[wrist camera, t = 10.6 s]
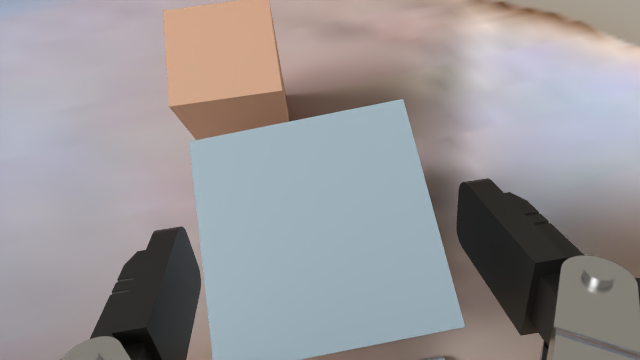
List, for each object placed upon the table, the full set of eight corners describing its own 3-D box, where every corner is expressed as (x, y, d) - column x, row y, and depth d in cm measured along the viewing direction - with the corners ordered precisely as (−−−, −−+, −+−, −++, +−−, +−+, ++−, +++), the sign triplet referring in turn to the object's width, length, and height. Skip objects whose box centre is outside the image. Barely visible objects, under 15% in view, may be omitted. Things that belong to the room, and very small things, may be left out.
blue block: (291, 323, 18) (214, 376, 7) (275, 223, 19) (188, 141, 8) (391, 303, 18) (465, 327, 7) (368, 205, 19) (403, 98, 8)
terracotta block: (222, 171, 25) (168, 106, 16) (215, 105, 26) (163, 10, 17) (295, 160, 25) (282, 90, 16) (285, 95, 26) (268, -4, 17)
